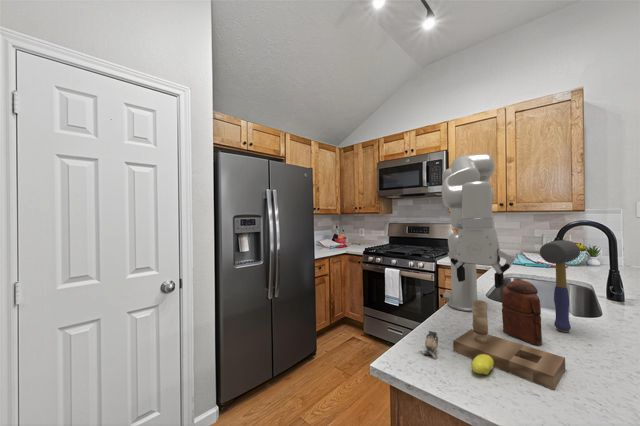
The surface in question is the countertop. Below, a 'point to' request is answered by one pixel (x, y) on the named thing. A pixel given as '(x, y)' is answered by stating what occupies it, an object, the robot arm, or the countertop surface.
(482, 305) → the dowel
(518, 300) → the wooden figurine
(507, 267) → the robot arm
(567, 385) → the countertop surface
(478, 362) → the lemon
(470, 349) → the board
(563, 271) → the rubber mallet
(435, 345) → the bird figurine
